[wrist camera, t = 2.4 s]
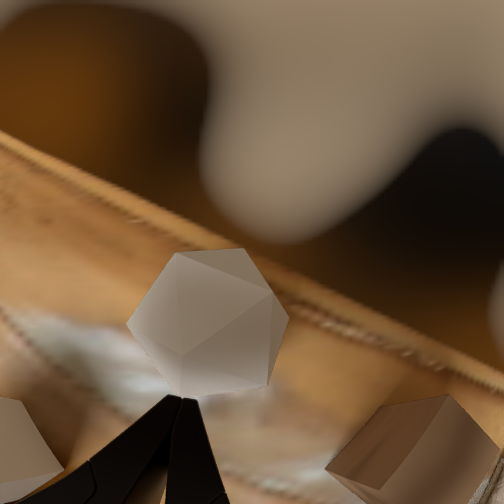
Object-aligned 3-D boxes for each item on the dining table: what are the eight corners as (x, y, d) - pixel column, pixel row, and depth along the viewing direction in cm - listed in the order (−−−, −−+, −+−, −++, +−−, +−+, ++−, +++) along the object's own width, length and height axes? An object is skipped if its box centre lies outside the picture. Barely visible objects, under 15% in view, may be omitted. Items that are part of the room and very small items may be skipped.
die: (294, 315, 23) (255, 195, 18) (307, 416, 16) (256, 286, 11) (192, 337, 24) (134, 234, 20) (174, 432, 17) (78, 326, 12)
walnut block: (426, 450, 18) (499, 448, 11) (377, 511, 15) (442, 536, 8) (379, 406, 19) (449, 393, 12) (324, 469, 17) (378, 490, 10)
